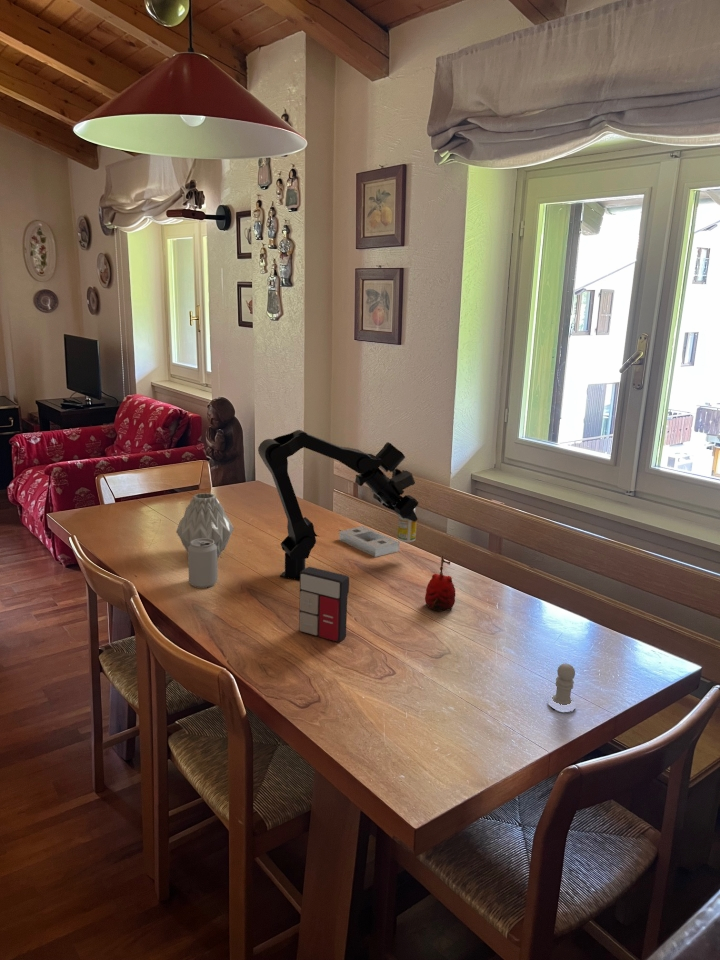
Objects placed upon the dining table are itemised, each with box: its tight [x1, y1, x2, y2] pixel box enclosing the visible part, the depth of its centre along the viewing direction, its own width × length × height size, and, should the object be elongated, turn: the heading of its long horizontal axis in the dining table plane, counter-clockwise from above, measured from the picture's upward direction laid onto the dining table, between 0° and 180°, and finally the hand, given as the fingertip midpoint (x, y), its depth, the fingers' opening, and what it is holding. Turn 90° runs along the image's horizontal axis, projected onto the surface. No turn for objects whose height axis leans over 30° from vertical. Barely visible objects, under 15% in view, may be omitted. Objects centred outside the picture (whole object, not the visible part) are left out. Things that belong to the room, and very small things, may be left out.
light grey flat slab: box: [338, 525, 400, 558], centre depth 222 cm, size 18×10×3 cm, turn 38°
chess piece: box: [552, 662, 576, 705], centre depth 137 cm, size 5×5×9 cm
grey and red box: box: [298, 566, 350, 643], centre depth 162 cm, size 11×4×15 cm, turn 62°
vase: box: [175, 492, 235, 559], centre depth 207 cm, size 16×16×18 cm
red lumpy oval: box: [424, 555, 456, 612], centre depth 178 cm, size 8×7×15 cm
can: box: [187, 538, 218, 589], centre depth 188 cm, size 8×8×12 cm
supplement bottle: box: [397, 507, 418, 543], centre depth 208 cm, size 5×5×10 cm
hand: (411, 517), depth 208 cm, fingers closed on supplement bottle, 5 cm apart
